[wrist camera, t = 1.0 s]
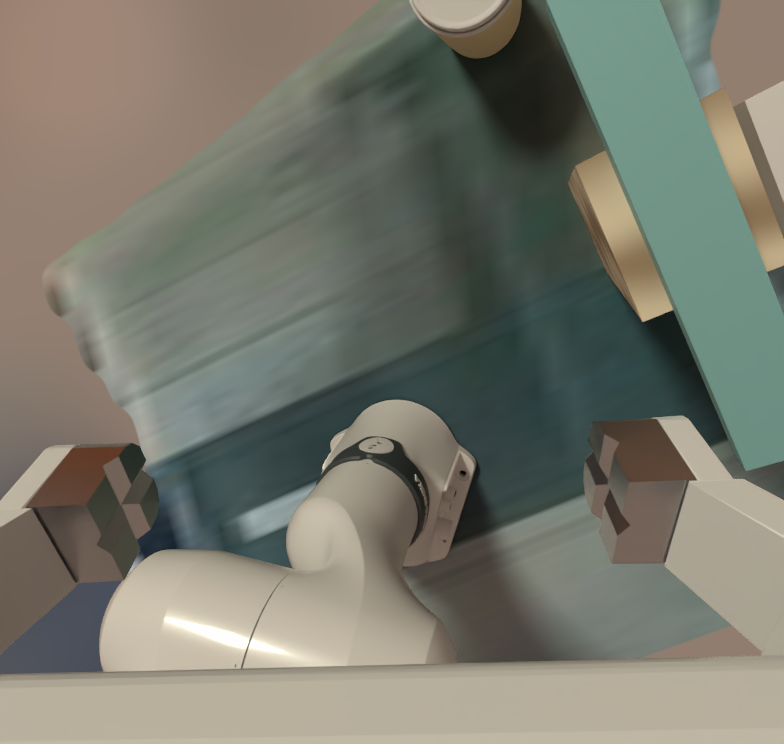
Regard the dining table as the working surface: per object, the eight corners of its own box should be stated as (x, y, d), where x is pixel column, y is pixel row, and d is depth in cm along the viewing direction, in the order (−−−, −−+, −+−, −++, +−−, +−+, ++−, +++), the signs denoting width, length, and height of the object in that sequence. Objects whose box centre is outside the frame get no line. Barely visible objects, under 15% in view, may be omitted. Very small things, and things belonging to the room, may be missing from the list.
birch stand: (688, 236, 54) (792, 261, 30) (606, 272, 56) (642, 322, 33) (648, 140, 52) (725, 86, 28) (567, 183, 55) (575, 166, 31)
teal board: (819, 432, 32) (835, 446, 30) (735, 456, 33) (745, 471, 31) (630, -43, 28) (635, -61, 26) (546, 12, 30) (545, -1, 28)
